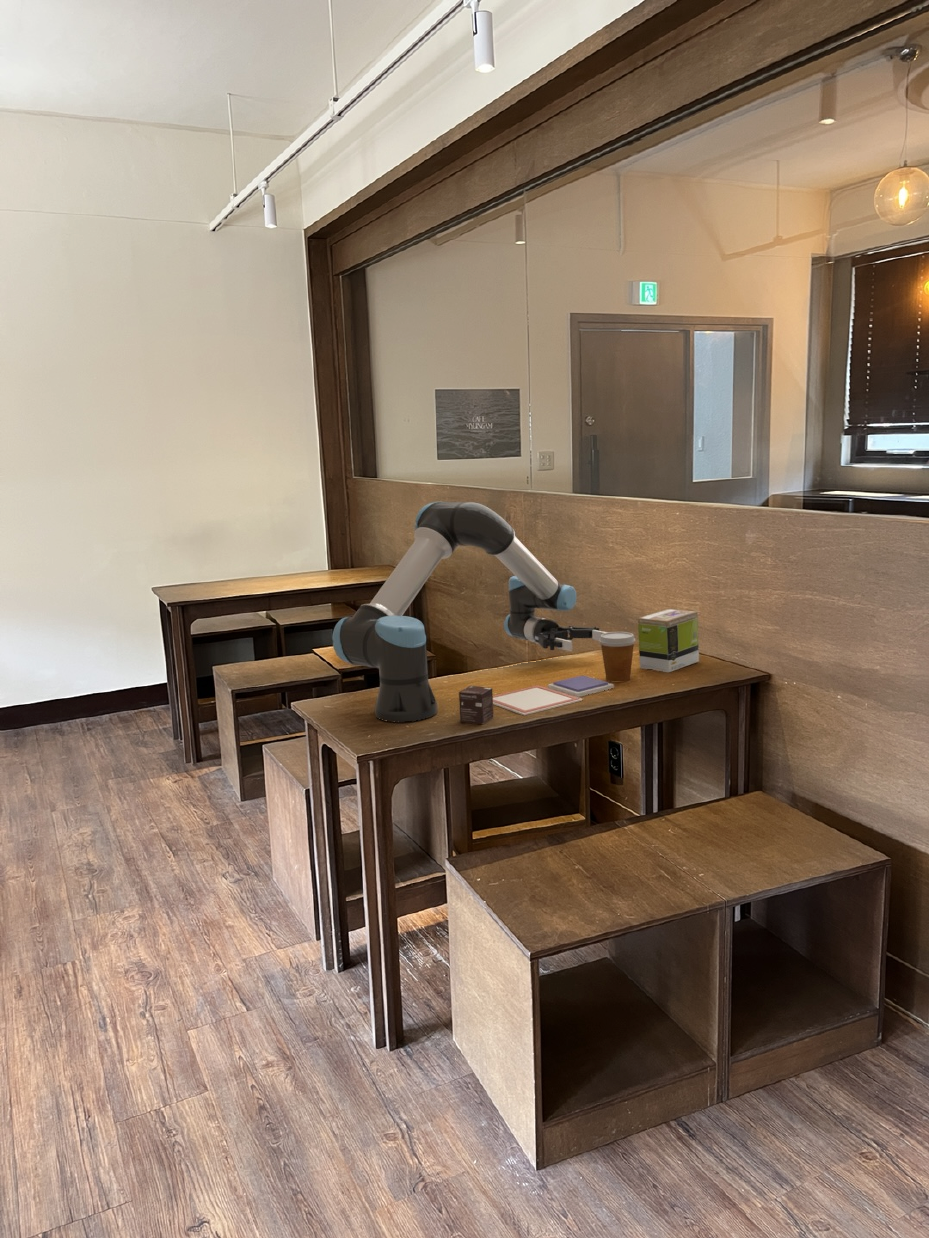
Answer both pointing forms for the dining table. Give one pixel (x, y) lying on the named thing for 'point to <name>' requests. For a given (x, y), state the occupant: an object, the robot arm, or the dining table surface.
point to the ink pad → (580, 686)
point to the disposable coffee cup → (617, 655)
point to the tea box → (668, 640)
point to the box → (476, 704)
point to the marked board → (533, 700)
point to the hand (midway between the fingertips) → (590, 642)
